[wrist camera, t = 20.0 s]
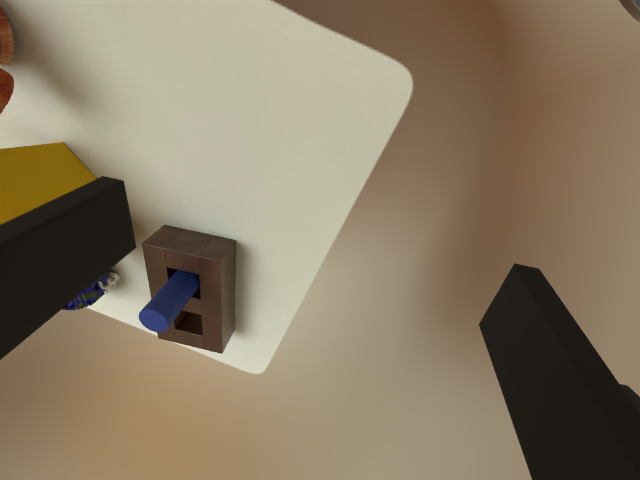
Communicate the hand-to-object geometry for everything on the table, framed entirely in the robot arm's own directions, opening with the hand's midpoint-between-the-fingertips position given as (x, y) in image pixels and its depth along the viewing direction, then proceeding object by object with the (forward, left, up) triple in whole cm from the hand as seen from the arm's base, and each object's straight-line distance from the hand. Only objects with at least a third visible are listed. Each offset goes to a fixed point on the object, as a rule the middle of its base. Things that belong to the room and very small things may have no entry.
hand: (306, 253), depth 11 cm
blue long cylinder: (+18, +24, -27) cm, 40 cm away
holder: (+18, +28, -27) cm, 43 cm away
